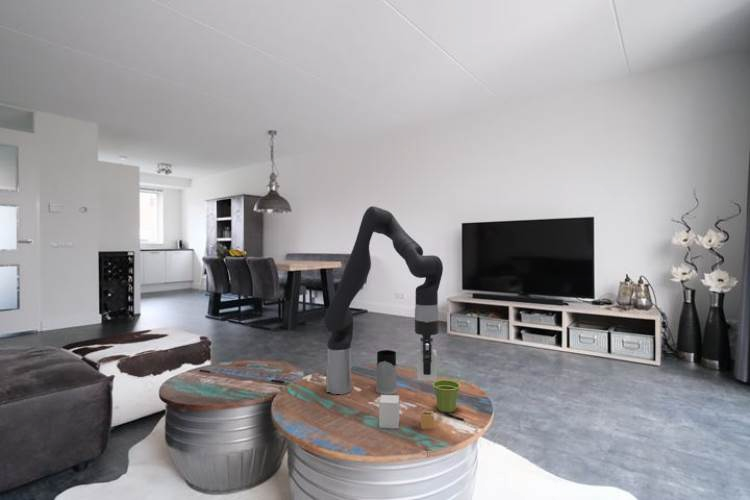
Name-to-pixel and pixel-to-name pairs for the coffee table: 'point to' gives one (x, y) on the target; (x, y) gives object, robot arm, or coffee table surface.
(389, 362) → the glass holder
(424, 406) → the coffee table surface
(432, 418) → the orange cube
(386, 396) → the left white block
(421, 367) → the light grey rectangular block
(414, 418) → the coffee table surface
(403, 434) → the coffee table surface
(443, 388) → the plant pot
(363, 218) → the robot arm
